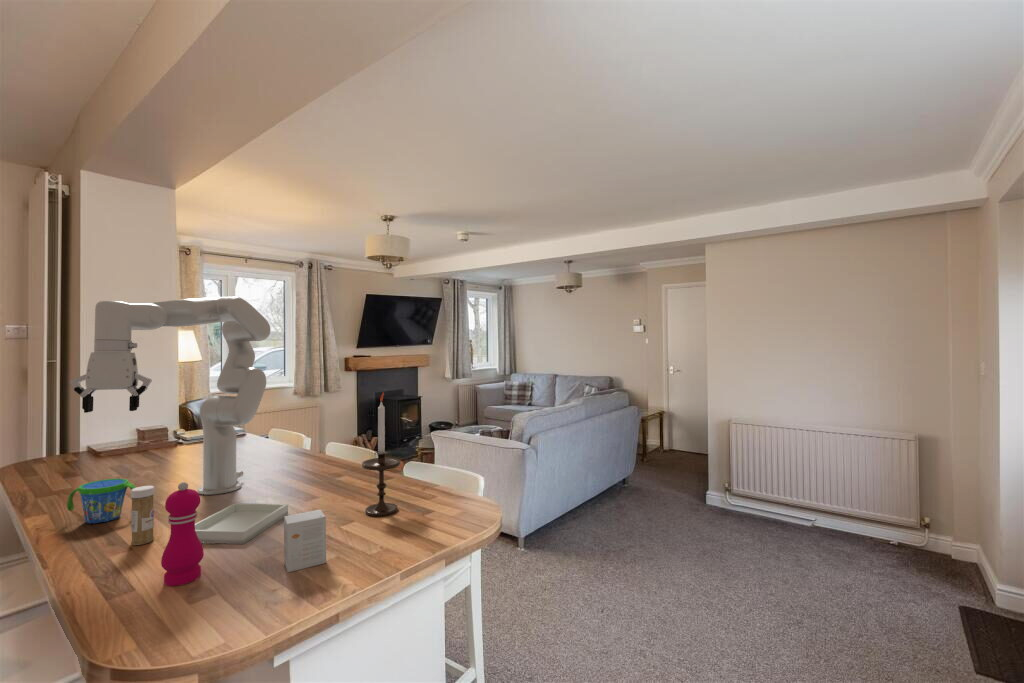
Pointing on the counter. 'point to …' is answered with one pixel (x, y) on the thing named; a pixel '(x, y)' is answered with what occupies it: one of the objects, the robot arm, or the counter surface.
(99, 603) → the counter surface
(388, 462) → the candlestick
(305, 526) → the small box
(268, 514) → the tray
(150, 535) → the sprinkles bottle
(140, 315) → the robot arm
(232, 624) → the counter surface
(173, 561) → the pepper mill
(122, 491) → the snack cup
